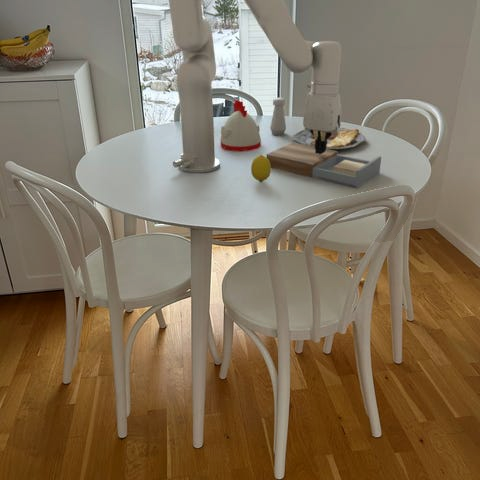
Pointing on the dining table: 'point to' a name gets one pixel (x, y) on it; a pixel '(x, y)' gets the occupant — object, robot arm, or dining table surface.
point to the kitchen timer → (240, 131)
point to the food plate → (340, 141)
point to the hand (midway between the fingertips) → (320, 152)
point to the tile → (348, 167)
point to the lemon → (261, 168)
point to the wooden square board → (298, 158)
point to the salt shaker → (278, 117)
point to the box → (362, 174)
